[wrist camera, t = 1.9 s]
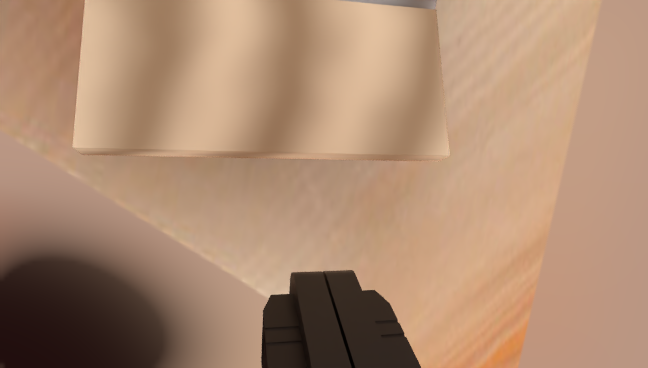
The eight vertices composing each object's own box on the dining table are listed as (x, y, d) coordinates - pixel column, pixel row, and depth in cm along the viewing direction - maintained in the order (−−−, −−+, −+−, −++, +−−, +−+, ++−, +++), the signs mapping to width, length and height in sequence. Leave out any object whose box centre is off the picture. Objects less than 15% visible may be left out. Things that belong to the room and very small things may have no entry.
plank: (81, 154, 20) (72, 147, 19) (95, -8, 21) (86, -24, 20) (439, 161, 23) (449, 155, 22) (426, 21, 25) (435, 9, 24)
